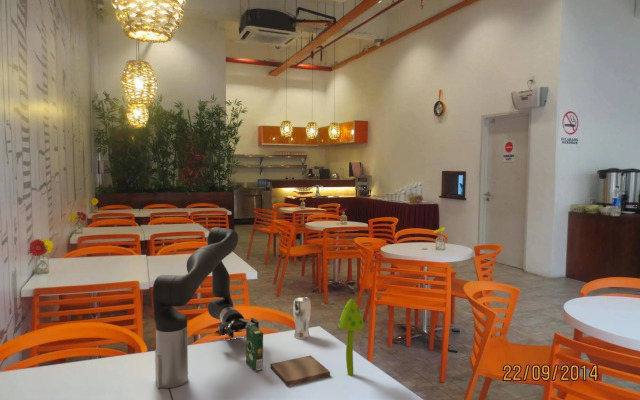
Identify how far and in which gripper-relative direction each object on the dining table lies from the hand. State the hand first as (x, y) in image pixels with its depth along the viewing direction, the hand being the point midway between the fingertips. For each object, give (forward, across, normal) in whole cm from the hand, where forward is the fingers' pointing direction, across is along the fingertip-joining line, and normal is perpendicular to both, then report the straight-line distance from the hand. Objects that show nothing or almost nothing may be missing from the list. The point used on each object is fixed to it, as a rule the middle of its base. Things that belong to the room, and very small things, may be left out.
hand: (244, 332), depth 155 cm
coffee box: (+11, 0, +8) cm, 14 cm away
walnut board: (+21, +12, +8) cm, 26 cm away
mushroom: (+30, +26, +8) cm, 41 cm away
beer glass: (-7, +26, +8) cm, 28 cm away
